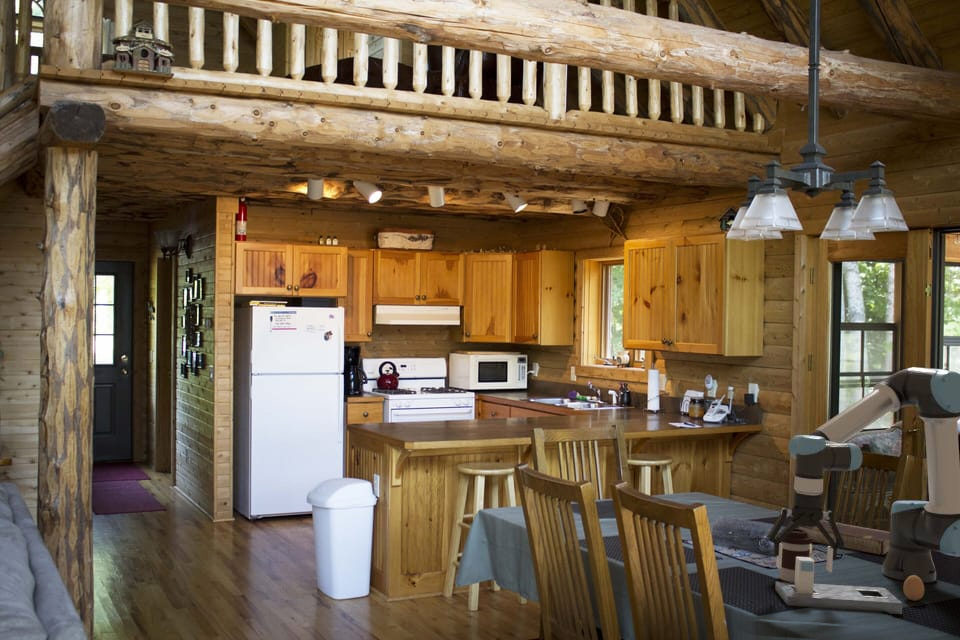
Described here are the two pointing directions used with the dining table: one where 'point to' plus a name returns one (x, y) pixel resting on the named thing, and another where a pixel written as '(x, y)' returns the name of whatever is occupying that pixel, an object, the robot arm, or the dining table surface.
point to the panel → (841, 597)
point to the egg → (913, 588)
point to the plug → (804, 574)
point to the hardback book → (853, 537)
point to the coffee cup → (794, 552)
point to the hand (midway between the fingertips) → (803, 569)
